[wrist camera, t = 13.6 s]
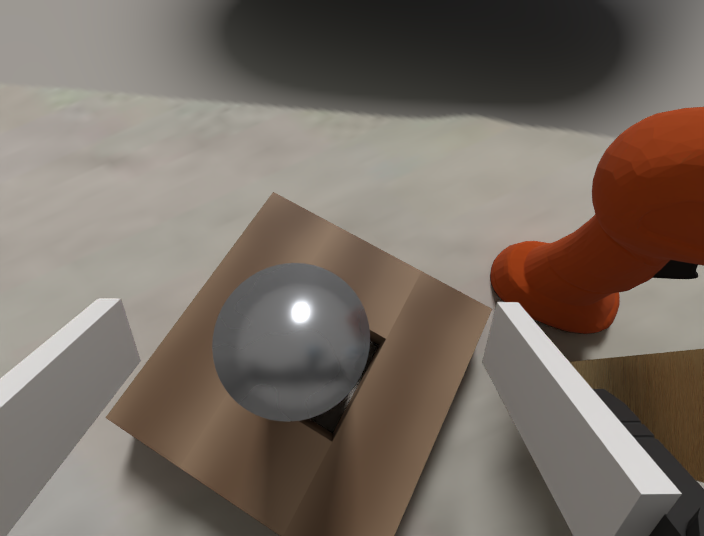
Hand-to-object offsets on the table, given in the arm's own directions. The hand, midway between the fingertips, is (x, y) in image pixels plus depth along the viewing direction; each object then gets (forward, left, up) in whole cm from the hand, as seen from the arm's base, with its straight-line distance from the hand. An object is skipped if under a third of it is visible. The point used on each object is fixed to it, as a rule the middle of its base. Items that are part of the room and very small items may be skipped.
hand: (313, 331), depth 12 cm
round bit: (0, +1, -8) cm, 8 cm away
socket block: (0, +1, -8) cm, 8 cm away
